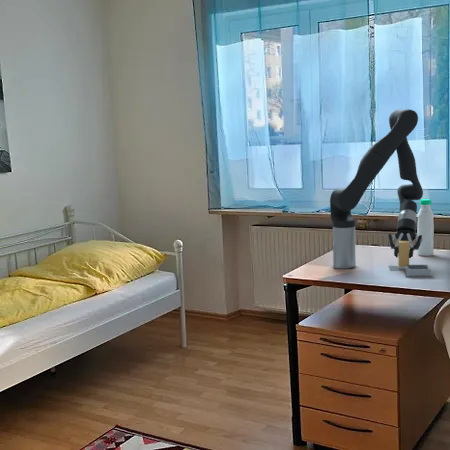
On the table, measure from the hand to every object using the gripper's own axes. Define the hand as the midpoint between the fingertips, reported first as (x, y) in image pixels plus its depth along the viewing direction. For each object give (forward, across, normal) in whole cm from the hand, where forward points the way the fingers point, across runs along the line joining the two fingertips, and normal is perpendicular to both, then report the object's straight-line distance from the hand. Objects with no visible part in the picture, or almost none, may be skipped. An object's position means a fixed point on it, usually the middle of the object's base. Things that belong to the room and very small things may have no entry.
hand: (403, 256), depth 261 cm
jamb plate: (+3, 0, +5) cm, 6 cm away
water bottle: (-19, +6, +27) cm, 34 cm away
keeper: (+10, +6, -2) cm, 12 cm away
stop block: (+2, 0, +4) cm, 5 cm away
